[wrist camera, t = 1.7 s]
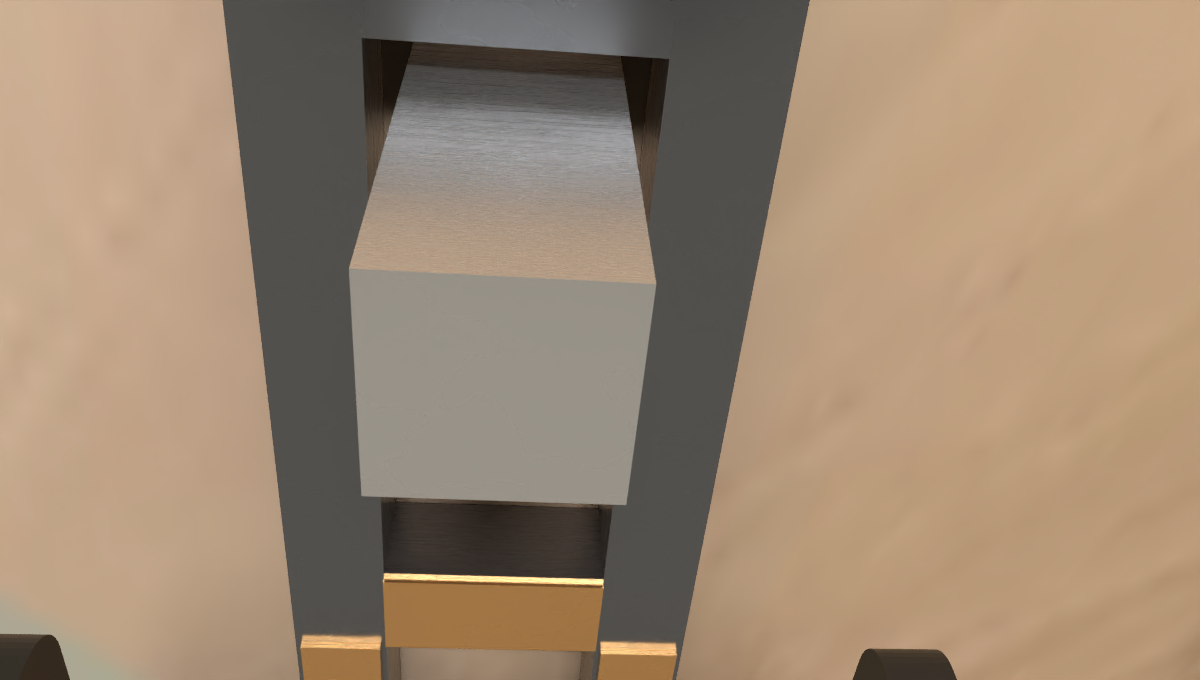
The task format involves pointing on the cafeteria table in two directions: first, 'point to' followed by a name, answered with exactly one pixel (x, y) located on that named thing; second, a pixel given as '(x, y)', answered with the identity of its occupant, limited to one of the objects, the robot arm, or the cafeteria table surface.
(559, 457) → the steel block
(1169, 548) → the cafeteria table surface
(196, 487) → the cafeteria table surface
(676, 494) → the slotted rack
